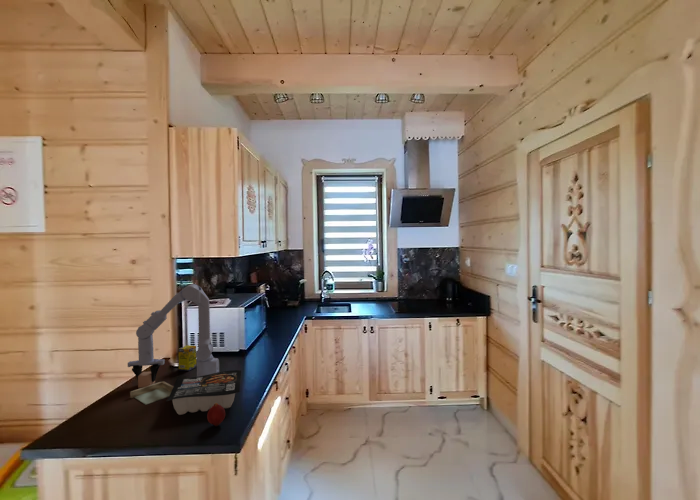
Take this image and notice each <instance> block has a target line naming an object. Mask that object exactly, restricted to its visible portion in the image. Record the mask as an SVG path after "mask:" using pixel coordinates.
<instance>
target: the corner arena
mask: <svg viewBox="0 0 700 500" xmlns="http://www.w3.org/2000/svg"><path fill="white" fill-rule="evenodd" d="M173 387H174V385H173V384H170V383H168V382H166V381H164V380H162V381H159V382H155V383H154V384H152V385H149V386H146V387H139V388H138V389H134V390H131V391H129V399H135V400H137V401H138V402H141V403H142V404H143V405H144V406H146V405H149V404H152V403H155V402H157V401H161V400H163V399H166V398H169V396H170V394H171V391H172V389H173Z"/></svg>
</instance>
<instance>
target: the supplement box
mask: <svg viewBox="0 0 700 500" xmlns="http://www.w3.org/2000/svg"><path fill="white" fill-rule="evenodd" d="M177 352H178V371H179V372H180V371H182V372H191V371H192V370H194V369H197V360H196V359H197V358H196V352H197V345H187V344H186V345H184V346H182V347H180V348H178V350H177Z"/></svg>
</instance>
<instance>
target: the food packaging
mask: <svg viewBox="0 0 700 500" xmlns="http://www.w3.org/2000/svg"><path fill="white" fill-rule="evenodd" d="M241 379H242V370H240V369H239V370H238V369H234V370H225V371H219V372H218V373H213V374H209V375H204V376H199V377H197V376H195V377H194V376H193V377H177V378H176V380H175V382H174V384H173V386H174V387H173V389H172V391H171V394H170V396H169V397H167V399H166V402H170V401H172V405H173V409H174V411H175V412H176V414H178V415H179V416H181V415H185V414H187V413H188V412H189V413H196V412H199V411H201V412H208V411H209V410H210V408H211V407H212V406H214V404H215V403H217V404H219V405H221V406H222V407H223V408H224V409H229V408H231V407H232V405H233V403H234V401H235V396H236V394H238V393H240V392H241V391H240V389H241Z"/></svg>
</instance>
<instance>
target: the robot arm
mask: <svg viewBox="0 0 700 500" xmlns="http://www.w3.org/2000/svg"><path fill="white" fill-rule="evenodd" d="M185 301H190V302H192V303H194V304H195V305H197V306H198V309H197V310H198V319H197V321H198V344H197V349H196V377H199V376H204V375H209V374H213V373H218V372H220V360H219V358H217V357H214V356H213V354H212V352H213V351H214V346H213V344H212V339H211V324H210V320H211V319H210V316H211V315H210V314H211V313H210V309H211V308H210V307H211V306H210V298H209V297H208V296H207V294H206V293H205V292H204V290H203V288H202V286H199V285H198V284H197V283H190V284H188V285H187V286H185V287H183V289H181V290H180V291H179V292H177V293H176V294H174V296H172V298H171V299H170V300H169V301H168V302H167V303H166V304H165V305H164V307H162V308H161V309H160V310H155V311H152V312H151V313H150V316H149V317H148V318H147V319H146V320H144V321H142V325H139V326H138V328H137V329H136V332H135V335H136V337H137V340H138V341H137V343H138V344H137V348H138V349H137V350H138V360H137V359H136V360H131V361H128V362H127V368H131V367H132V368H131V371H132V372H133V374H134V375H135V378H136V379H137V381H138V376H139V375H140V374H141V373H142V372H143V366H144V367H145V366H150V368H149V369H150V371H151V375H152V382H154V381H155V382H156V378H157V374H158V372H159V368H160V366H163V365H165V361H166V360H165V359H164V358H163V359H160V358H154V354H155V353H154V337H153V336H154V335H153V334H154V333H155V331H156V330H157V329H158V328H159V327H160V326H161V325H162V324H163V323H164V322H165V321H166V320H167V318H168V317H167V315H168V314H169V313H170V312H171V311H172V310H173V309H174V308H175V307H176V306H177V305H178V304H179V303H181V302H182V303H183V302H185Z"/></svg>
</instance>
